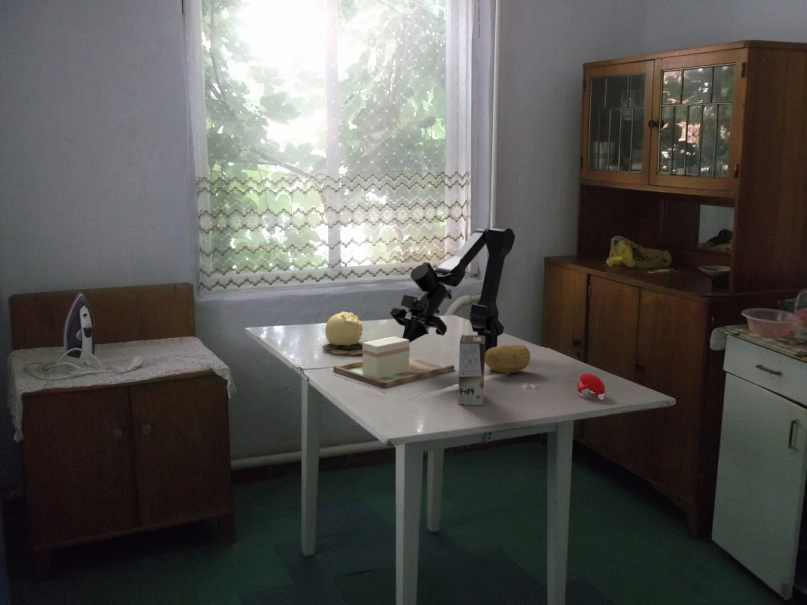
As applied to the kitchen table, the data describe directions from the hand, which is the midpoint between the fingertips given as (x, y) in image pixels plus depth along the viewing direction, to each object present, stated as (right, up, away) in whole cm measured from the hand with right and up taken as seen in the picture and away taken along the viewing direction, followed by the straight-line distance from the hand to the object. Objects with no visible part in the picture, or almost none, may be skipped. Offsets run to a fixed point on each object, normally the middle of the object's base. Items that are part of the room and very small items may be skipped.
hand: (402, 344), depth 237 cm
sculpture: (-19, -2, +33) cm, 38 cm away
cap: (+49, -13, -18) cm, 54 cm away
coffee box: (+17, -13, -22) cm, 31 cm away
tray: (-2, -8, 0) cm, 9 cm away
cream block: (-5, -8, -3) cm, 9 cm away
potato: (+30, -9, +3) cm, 31 cm away
